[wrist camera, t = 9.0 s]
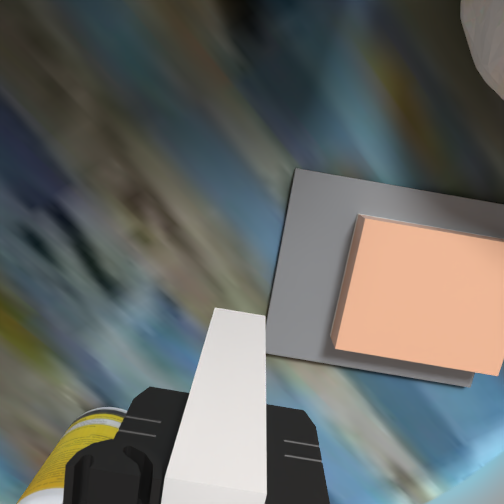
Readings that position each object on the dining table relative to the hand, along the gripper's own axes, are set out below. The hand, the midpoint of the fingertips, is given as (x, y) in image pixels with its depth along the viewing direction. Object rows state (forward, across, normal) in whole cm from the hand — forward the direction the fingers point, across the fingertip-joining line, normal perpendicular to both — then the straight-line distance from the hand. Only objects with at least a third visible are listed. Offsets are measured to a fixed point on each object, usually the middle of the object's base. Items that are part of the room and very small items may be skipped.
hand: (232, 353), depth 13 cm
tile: (+13, +6, -1) cm, 14 cm away
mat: (+15, +9, -1) cm, 17 cm away
